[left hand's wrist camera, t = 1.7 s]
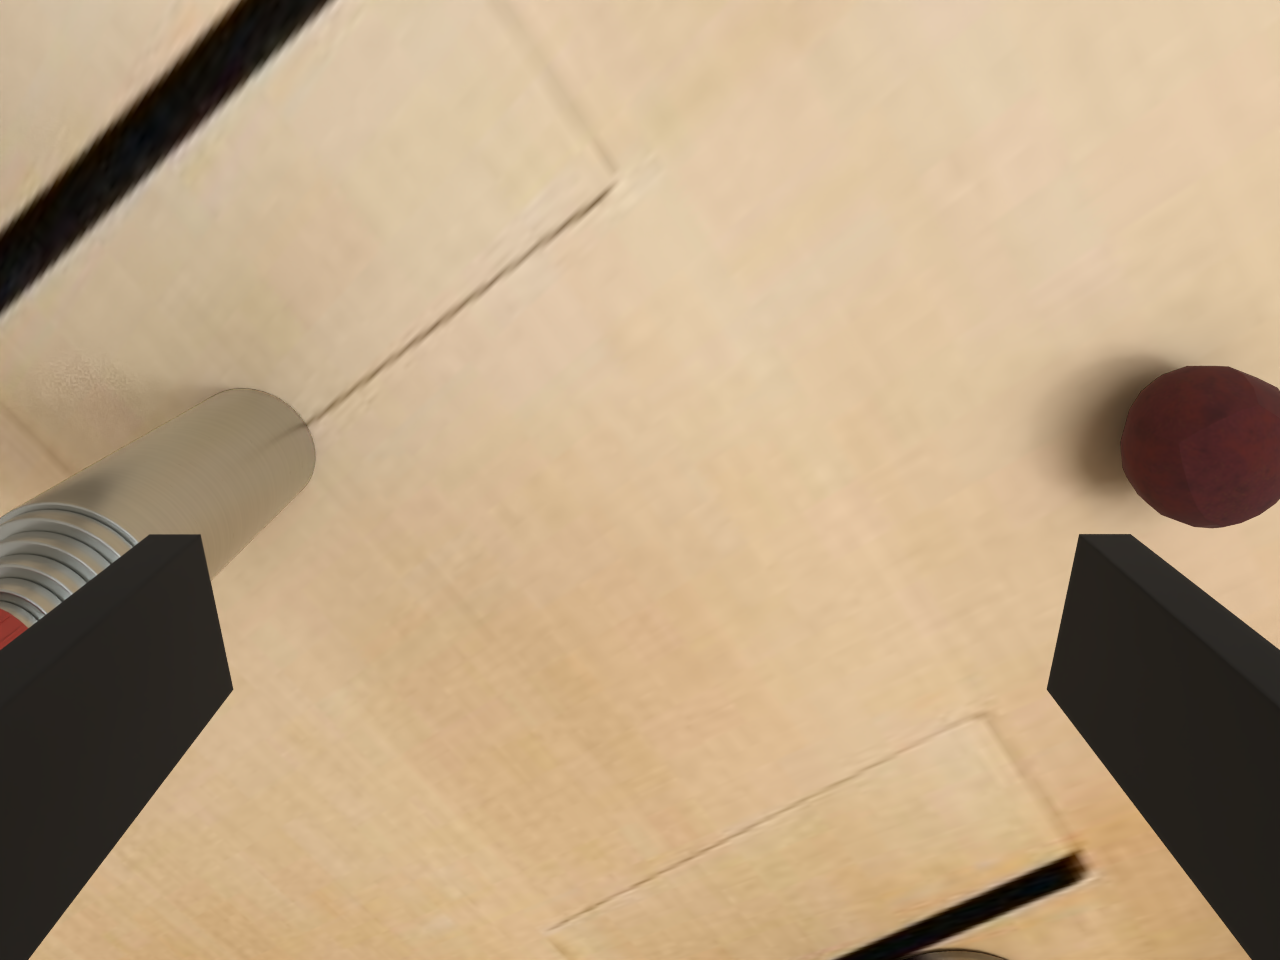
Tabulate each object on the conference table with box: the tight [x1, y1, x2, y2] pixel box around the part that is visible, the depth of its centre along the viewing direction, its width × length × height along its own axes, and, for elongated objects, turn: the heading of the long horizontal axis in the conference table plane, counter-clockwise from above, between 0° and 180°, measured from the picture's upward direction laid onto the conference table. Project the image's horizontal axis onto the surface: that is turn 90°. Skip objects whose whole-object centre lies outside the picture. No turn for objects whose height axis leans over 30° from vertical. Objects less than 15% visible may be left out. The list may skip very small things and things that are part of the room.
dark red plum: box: [1120, 366, 1280, 528], centre depth 40 cm, size 7×8×7 cm
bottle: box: [0, 389, 315, 628], centre depth 34 cm, size 6×6×21 cm
